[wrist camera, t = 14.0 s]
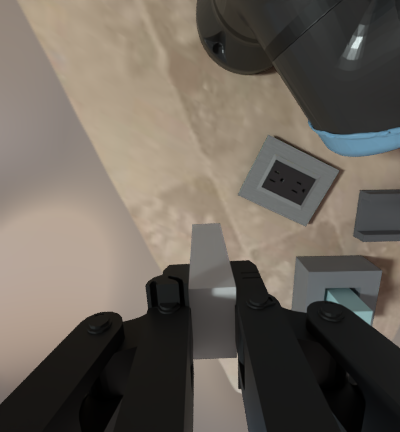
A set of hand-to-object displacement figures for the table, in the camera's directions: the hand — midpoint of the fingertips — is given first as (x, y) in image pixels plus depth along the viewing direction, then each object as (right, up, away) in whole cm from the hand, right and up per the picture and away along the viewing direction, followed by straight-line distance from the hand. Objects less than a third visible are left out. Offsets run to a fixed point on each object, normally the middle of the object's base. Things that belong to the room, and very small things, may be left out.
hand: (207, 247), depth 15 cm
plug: (+23, -12, +36) cm, 45 cm away
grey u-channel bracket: (+31, +2, +33) cm, 46 cm away
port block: (+23, -11, +37) cm, 45 cm away
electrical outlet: (+14, +8, +32) cm, 36 cm away
